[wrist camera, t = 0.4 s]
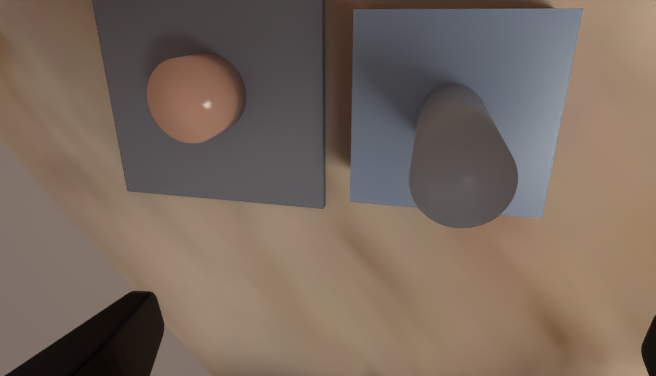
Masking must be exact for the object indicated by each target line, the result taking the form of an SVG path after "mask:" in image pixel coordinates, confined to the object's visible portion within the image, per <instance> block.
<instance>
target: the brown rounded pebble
mask: <svg viewBox="0 0 656 376" xmlns="http://www.w3.org/2000/svg"><path fill="white" fill-rule="evenodd" d="M147 101H148V106H149V109H150V112H151V114H152V116H153V118H154V120H155V121H156V123H157V124H158V126H159V127H160V128H161V129H162V130H163V131H164V132H165V133H166V134H168V135H169V136H171V137H172V138H174V139H176V140H178V141H181V142H185V143H201V142H204V141H206V140H208V139H210V138H212V137H214V136H216V135H217V134H219V133H221V132H223V131H224V130H226V129H228V128H230V127H231V126H233V125H234V124H235V123H236V122H237V121H238V120H239V119H240V118H241V116H242V114H243V112H244V109H245V105H246V89H245V85H244V82H243V80H242V78H241V76H240V74H239V72H238V71H237V69H236V68H235V67H234V66H233V65H232V64H231V63H230V62H229V61H227V60H226V59H224V58H222V57H221V56H218V55H215V54H211V53H200V54H194V55H188V56H183V57H177V58H172V59H169V60H166V61H164V62H162V63H161V64H160V65H158V66H157V67H156V68H155V70H154V71H153V72H152V74H151V76H150V78H149V81H148V86H147Z"/></svg>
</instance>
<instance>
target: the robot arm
mask: <svg viewBox="0 0 656 376" xmlns="http://www.w3.org/2000/svg"><path fill="white" fill-rule="evenodd" d="M163 333H164V321H163V317H162V314H161V310H160V307H159V304H158V300H157V297H156V295H155V294H154V293H153V292H150V291H132V292H130V293H128V294H126V295H125V296H123V297H122V298H120V299H119V300H117V301H116V302H114V303H113V304H111V305H110V306H109V307H107V308H105V309H104V310H103V311H101V312H99V313H98V314H96V315H95V316H93V317H92V318H90V319H89V320H87V321H86V322H84V323H83V324H81V325H80V326H78V327H77V328H75V329H74V330H72V331H71V332H69V333H68V334H66V335H65V336H63V337H62V338H60V339H59V340H57V341H56V342H54V343H53V344H51V345H50V346H48V347H47V348H46V349H44V350H42V351H41V352H39V353H38V354H36V355H35V356H33V357H32V358H30V359H29V360H27V361H26V362H25V363H23V364H22V365H20V366H18V367H17V368H16V369H14V370H13V371H11V372H10V373H8V374H7V375H5V376H150V374H151V371H152V367H153V364H154V361H155V358H156V355H157V352H158V349H159V346H160V343H161V340H162V337H163ZM641 352H642V358H643V361H644V363H645V366H646V369H647V371H648V374H649V376H656V315H655V316H654V318H653V320H652V323H651V325H650V327H649V329H648V332H647V334H646V336H645V338H644V341H643V343H642V348H641Z"/></svg>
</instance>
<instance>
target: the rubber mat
mask: <svg viewBox="0 0 656 376" xmlns="http://www.w3.org/2000/svg"><path fill="white" fill-rule="evenodd" d="M92 2H93V7H94V13H95V18H96V24H97V29H98V34H99V40H100V45H101V51H102V56H103V62H104V67H105V72H106V78H107V83H108V89H109V94H110V100H111V105H112V110H113V116H114V121H115V127H116V132H117V138H118V143H119V148H120V154H121V159H122V165H123V170H124V176H125V181H126V186H127V191H132V192H143V193H154V194H165V195H176V196H187V197H198V198H210V199H221V200H232V201H243V202H254V203H265V204H276V205H287V206H298V207H309V208H320V209H324V207H325V0H92ZM200 53H211V54H215V55H218V56H221V57H222V58H224V59H226V60H227V61H229V62H230V63H231V64H232V65H233V66H234V67H235V68H236V69H237V71H238V72H239V74H240V76H241V78H242V80H243V82H244V85H245V89H246V105H245V109H244V112H243V114H242V116H241V118H240V119H239V120H238V121H237V122H236V123H235V124H234V125H233V126H231V127H230V128H228V129H226V130H224V131H223V132H221V133H219V134H217V135H216V136H214V137H212V138H210V139H208V140H206V141H204V142H201V143H185V142H181V141H178V140H176V139H174V138H172V137H171V136H169V135H168V134H166V133H165V132H164V131H163V130H162V129H161V128H160V127H159V126H158V124H157V123H156V121H155V120H154V118H153V116H152V114H151V112H150V109H149V106H148V101H147V86H148V81H149V78H150V76H151V74H152V72H153V71H154V70H155V68H156V67H157V66H158V65H160V64H161V63H162V62H164V61H166V60H169V59H172V58H177V57H183V56H188V55H194V54H200Z"/></svg>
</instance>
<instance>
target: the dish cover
mask: <svg viewBox="0 0 656 376" xmlns="http://www.w3.org/2000/svg"><path fill="white" fill-rule="evenodd" d="M582 11H583V8H545V9H353V64H352V120H351V176H350V202H358V203H370V204H382V205H393V206H405V207H417V208H419V209H420V210H421V211H422V212H423V213H424V214H425V215H426V216H427V217H429V218H430V219H431V220H433V221H435V222H437V223H439V224H442V225H445V226H448V227H454V228H471V227H476V226H479V225H483V224H485V223H487V222H490V221H491V220H493V219H495V218H496V217H498V216H499V215H510V216H521V217H533V218H542V215H543V210H544V205H545V199H546V194H547V189H548V184H549V179H550V174H551V169H552V164H553V159H554V154H555V149H556V143H557V138H558V133H559V128H560V123H561V118H562V113H563V108H564V103H565V98H566V93H567V87H568V82H569V77H570V72H571V67H572V62H573V57H574V52H575V47H576V42H577V37H578V31H579V26H580V21H581V16H582Z"/></svg>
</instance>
